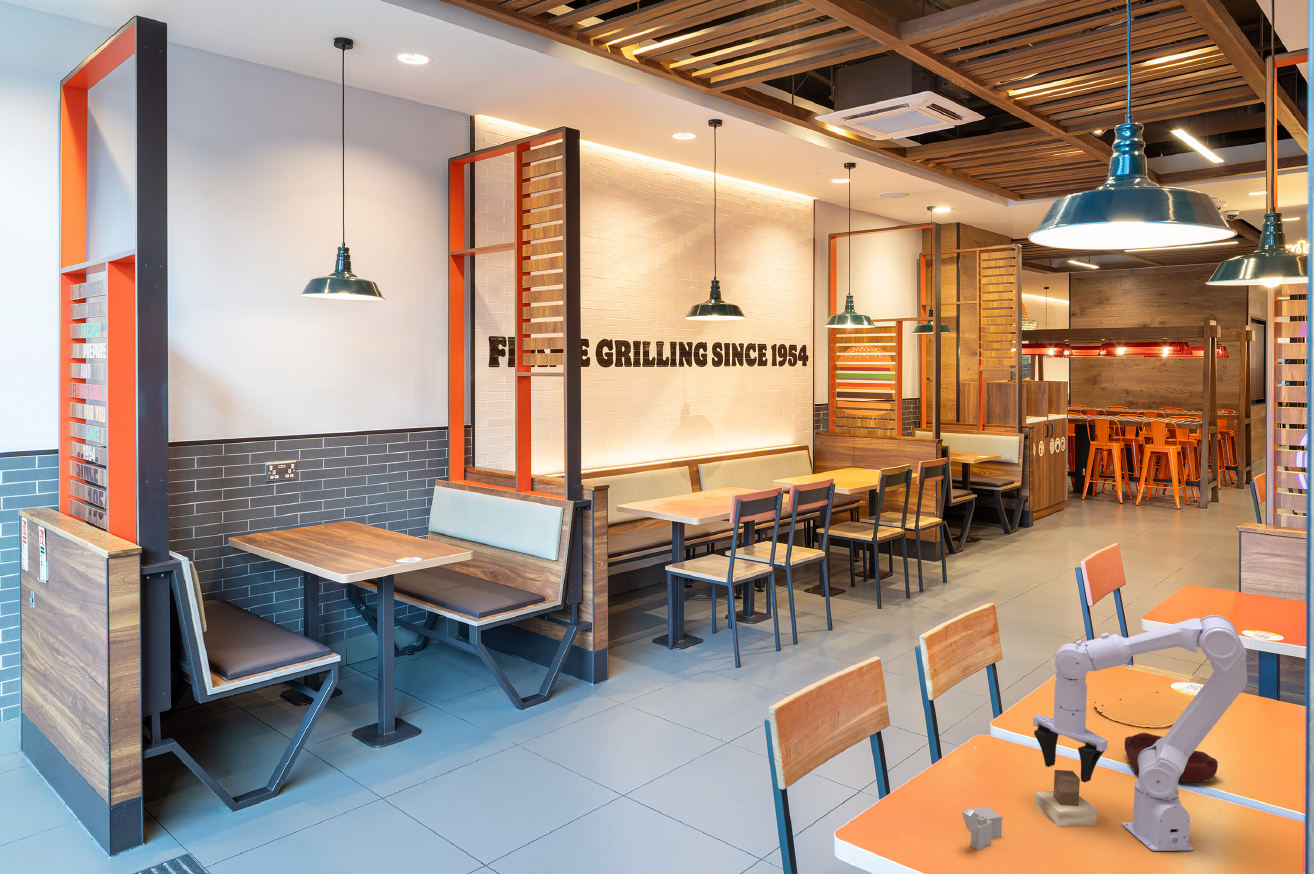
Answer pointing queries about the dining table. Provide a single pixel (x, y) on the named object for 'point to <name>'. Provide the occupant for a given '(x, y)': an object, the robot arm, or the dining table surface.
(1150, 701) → the dining table surface
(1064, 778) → the walnut block
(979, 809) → the grey block
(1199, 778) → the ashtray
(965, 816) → the lighter
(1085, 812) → the birch block
